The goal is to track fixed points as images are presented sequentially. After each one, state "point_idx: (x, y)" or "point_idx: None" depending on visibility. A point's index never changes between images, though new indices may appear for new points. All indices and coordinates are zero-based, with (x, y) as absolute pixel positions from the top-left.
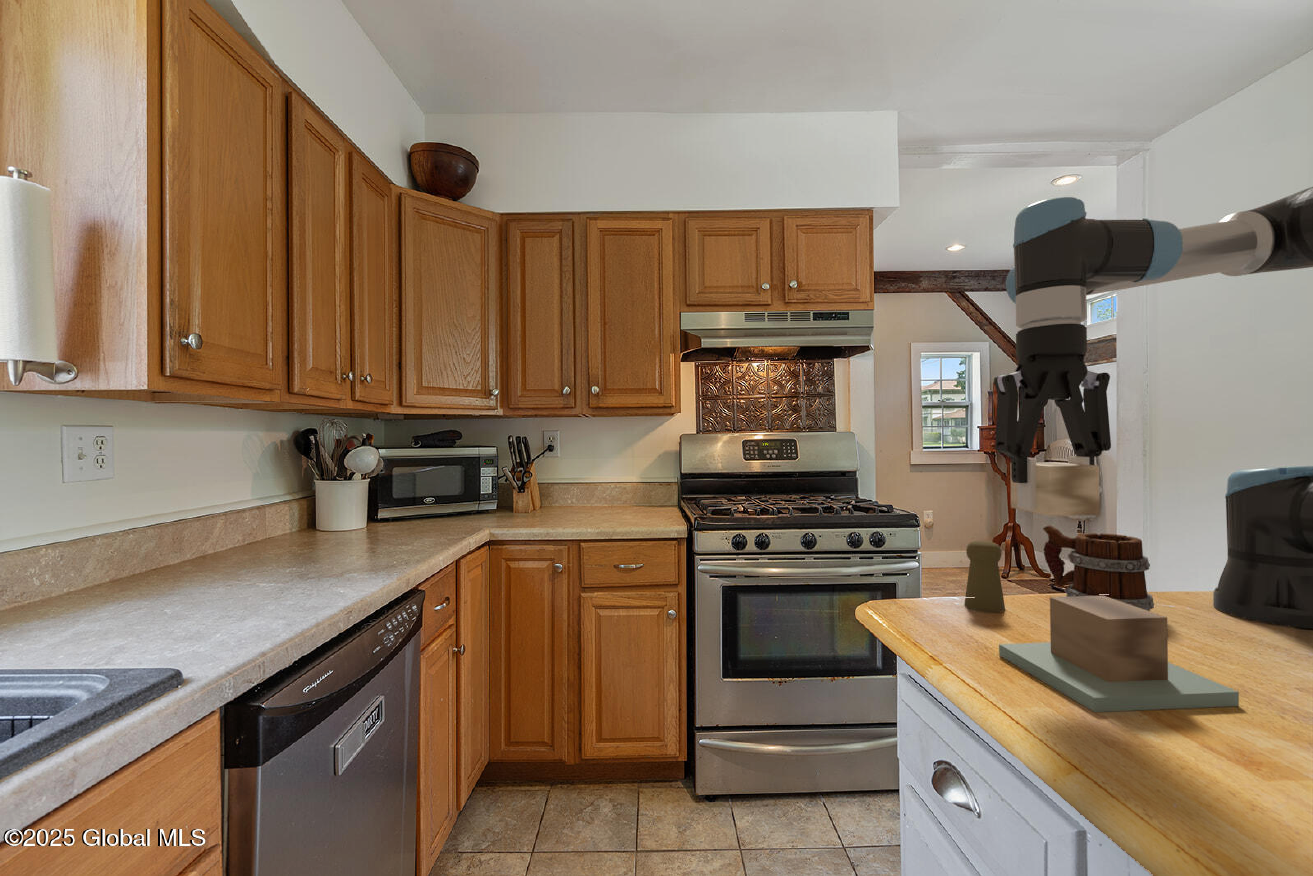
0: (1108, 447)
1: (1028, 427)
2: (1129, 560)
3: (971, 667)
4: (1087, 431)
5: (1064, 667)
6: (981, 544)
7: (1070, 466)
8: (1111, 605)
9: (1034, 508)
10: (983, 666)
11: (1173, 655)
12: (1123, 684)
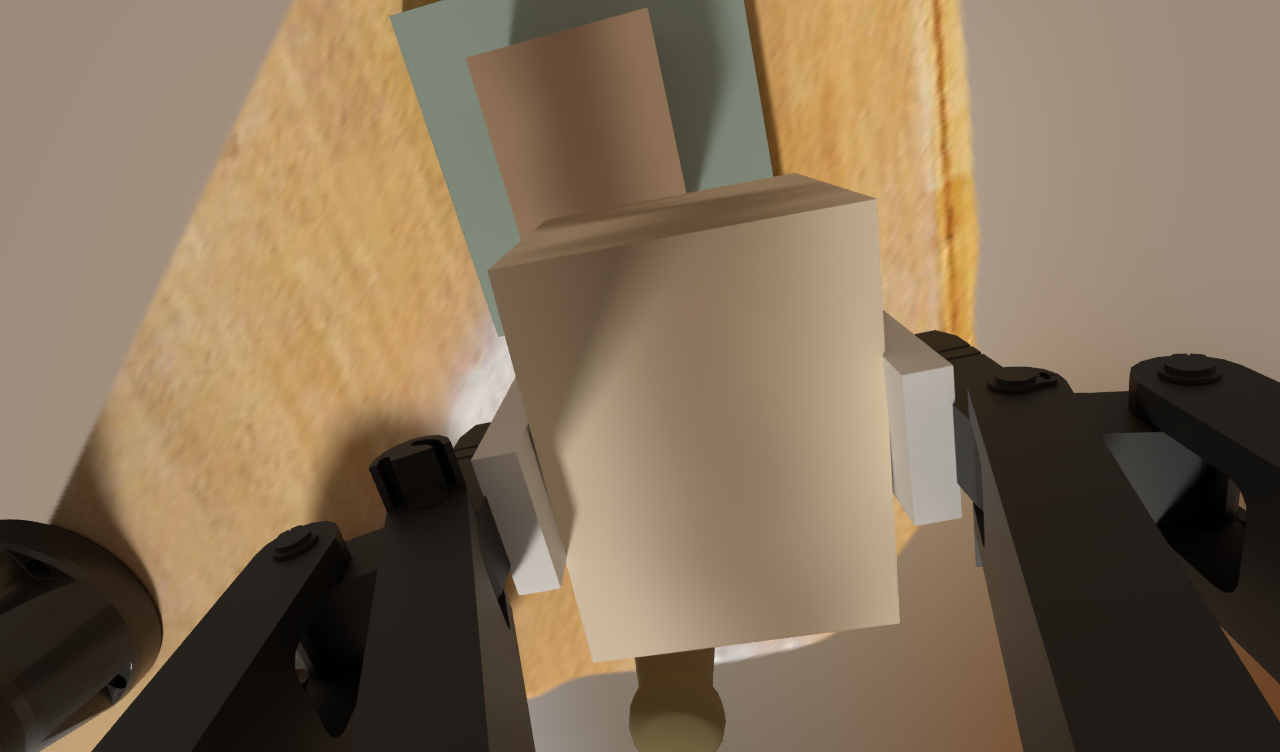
0: (288, 531)
1: (1145, 518)
2: (301, 668)
3: (882, 173)
4: (408, 603)
5: (703, 120)
6: (694, 724)
7: (705, 229)
8: (562, 174)
9: None
10: (850, 184)
11: (390, 320)
12: None
